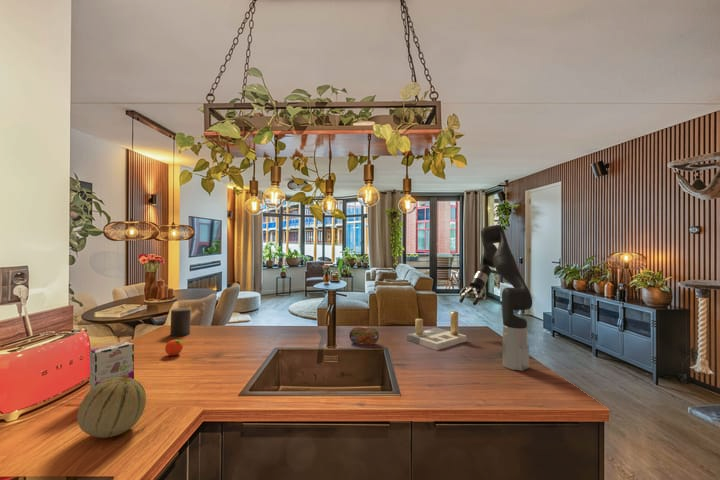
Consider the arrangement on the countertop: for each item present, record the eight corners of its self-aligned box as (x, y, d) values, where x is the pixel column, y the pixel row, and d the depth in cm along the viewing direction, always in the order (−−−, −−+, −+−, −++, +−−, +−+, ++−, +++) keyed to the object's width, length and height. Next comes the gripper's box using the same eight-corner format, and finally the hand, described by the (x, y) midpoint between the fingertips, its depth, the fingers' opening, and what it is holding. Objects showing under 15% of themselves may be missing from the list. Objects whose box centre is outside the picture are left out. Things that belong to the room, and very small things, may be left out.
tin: (349, 343, 167) (349, 327, 167) (350, 341, 171) (350, 325, 171) (378, 345, 165) (378, 328, 165) (379, 343, 168) (379, 327, 168)
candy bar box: (127, 387, 115) (128, 340, 116) (134, 390, 113) (135, 343, 113) (88, 400, 106) (89, 349, 106) (94, 404, 103) (95, 352, 103)
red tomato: (188, 353, 151) (188, 337, 151) (178, 358, 144) (178, 342, 144) (171, 352, 152) (172, 336, 152) (161, 357, 145) (161, 341, 145)
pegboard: (466, 341, 173) (466, 320, 173) (436, 350, 158) (437, 327, 158) (436, 332, 189) (436, 313, 189) (406, 340, 174) (407, 319, 174)
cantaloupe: (63, 442, 84) (64, 383, 84) (123, 414, 98) (123, 364, 98) (101, 456, 79) (102, 394, 79) (158, 424, 92) (159, 371, 92)
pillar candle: (176, 337, 175) (177, 309, 175) (166, 334, 180) (167, 307, 180) (194, 333, 183) (194, 306, 183) (183, 330, 188) (184, 304, 188)
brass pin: (459, 334, 174) (459, 312, 174) (455, 336, 172) (455, 313, 172) (453, 333, 178) (453, 310, 178) (448, 334, 175) (449, 311, 175)
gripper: (465, 275, 193) (453, 297, 186) (487, 278, 182) (475, 300, 174) (470, 284, 196) (459, 305, 189) (492, 286, 185) (481, 309, 178)
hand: (467, 303), depth 182 cm, fingers open, 8 cm apart
